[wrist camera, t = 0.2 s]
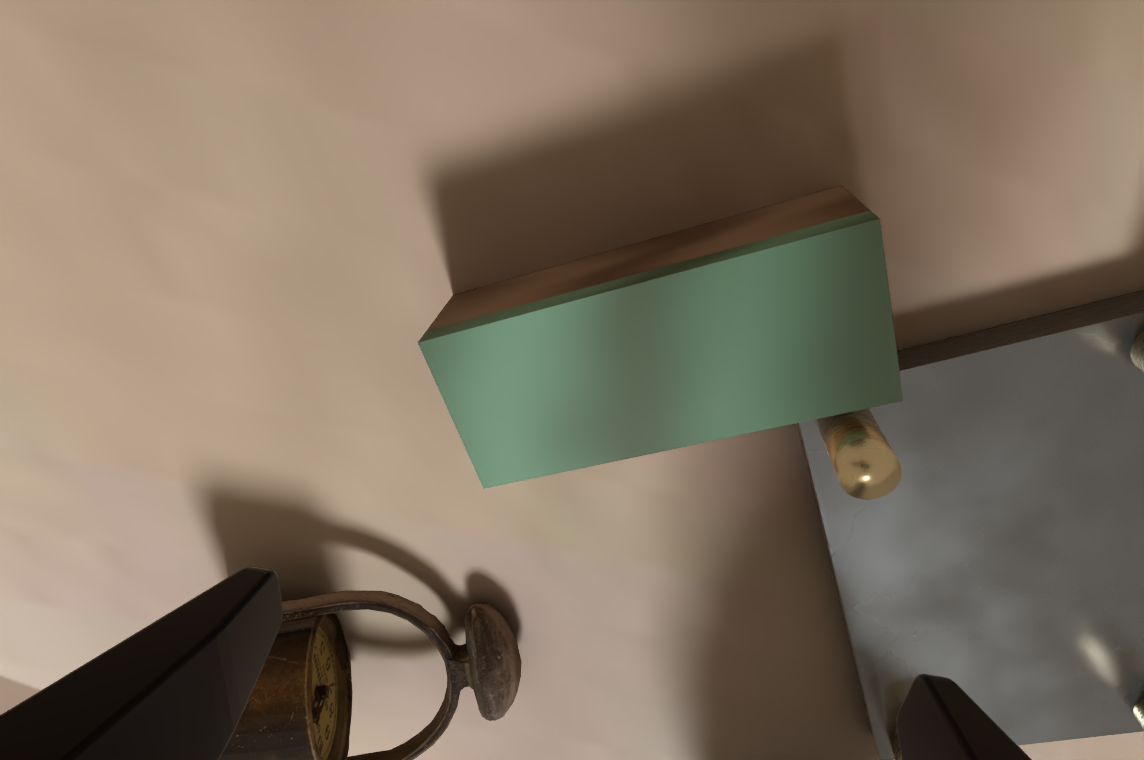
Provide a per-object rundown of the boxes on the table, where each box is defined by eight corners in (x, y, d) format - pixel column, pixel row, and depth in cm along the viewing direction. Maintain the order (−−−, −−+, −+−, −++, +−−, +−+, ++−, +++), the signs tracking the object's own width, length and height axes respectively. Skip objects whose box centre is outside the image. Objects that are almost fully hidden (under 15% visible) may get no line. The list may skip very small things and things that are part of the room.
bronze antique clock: (135, 593, 22) (99, 825, 25) (506, 730, 22) (430, 954, 24) (261, 503, 29) (223, 692, 32) (546, 605, 29) (483, 789, 31)
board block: (838, 183, 20) (879, 218, 16) (862, 339, 22) (903, 400, 18) (455, 292, 22) (417, 342, 19) (508, 421, 24) (483, 488, 21)
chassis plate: (1176, 697, 26) (1260, 806, 23) (872, 734, 29) (903, 837, 25) (1188, 279, 19) (1315, 339, 16) (786, 379, 22) (812, 450, 18)
